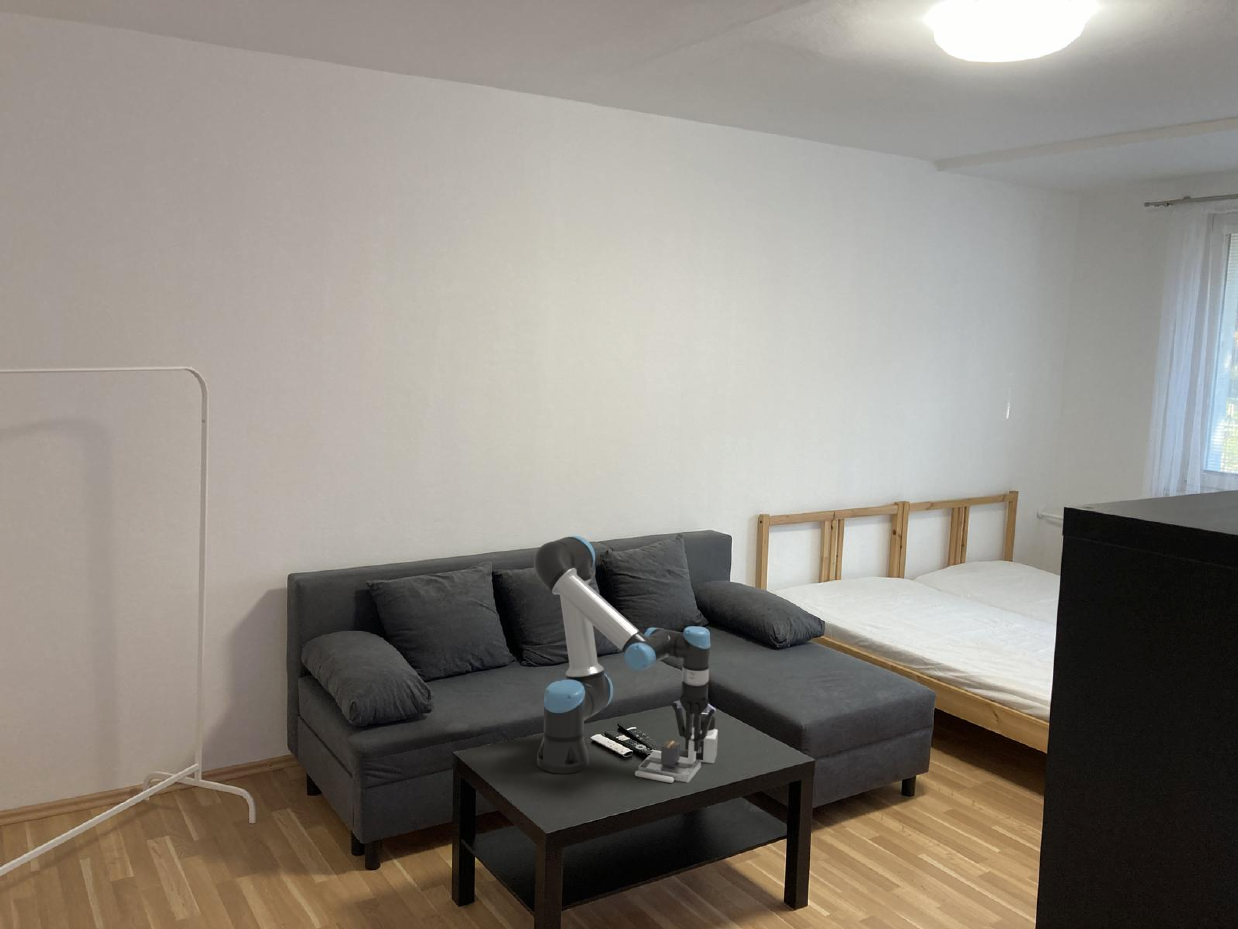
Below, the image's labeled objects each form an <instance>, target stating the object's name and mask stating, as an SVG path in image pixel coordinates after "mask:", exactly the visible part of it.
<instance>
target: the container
mask: <svg viewBox="0 0 1238 929" xmlns="http://www.w3.org/2000/svg"><path fill="white" fill-rule="evenodd" d="M707 714H708V713H707V712H706V713H705V712H702V715H701V733H702V729H703V726H704V723H705V719H706V716H707ZM694 724H695V718H694V716H693V718H692V736H691V737H693V738H694ZM718 733H719V730H718V729H716V717H715V715H713V716H712V719H711V722H710V726H709V729H708V733H707V736H706V737H705V739H704V740H700V746H699V750H698V751H697V752H696V759H697V760H701V763H708V764H715V761H716V758H717V754H718V736H719V735H718Z"/></svg>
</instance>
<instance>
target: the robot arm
mask: <svg viewBox="0 0 1238 929" xmlns="http://www.w3.org/2000/svg"><path fill="white" fill-rule="evenodd" d="M595 562H596V553H595V549H594V547H593V546H592V544H591V543H590V542H589V541H588V540H587V539H585V537H581V536H577V535H572V536H565V537H563V538H559V539H556V540H553V541H549V542H546V543H544V544H543V545H541V546H540V547H538V550H537V551H536V552H535V555H534V558H533V568H534V572H535V575H536V576H537V578H538V580H539V581H540V582H541V584H542V585H543V586H545V588H546V589H547V590H548V591H549V592H551V593H552V594H553V595H554V596H555V595H559V597H560V603H561V604H560V605H561V606H560V607H561V612H562V619H563V626H564V634H565V642H566V649H567V655H568V656H567V657H568V664H569V668H568V669H567V671H566V672H565V679H562V680H556V681H554V682H552V683H550V684H549V685H548V686H547V687H546V689H545V690H544V697H543V738H542V740H541V743H540V747H539V749H538V751H537V754H536V756H537V757H536V764H537V767H538V768H540V770H543V771H545V772H548V773H553V774H573V773H579V772H581V771H583V770H585V769H587V767H589V765H590V764H589V762H590V759H589V758H590V756H589V753H588V749H587V746H586V742H585V739H584V728H585V727H584V724H585V723H584V722H585V721H586V720H588V719H589V718H591V717H593V716H595V715H596V714H599V713H600V712H602V711H603V710H604V709H606V707H607V706H608V705H609V704H610V703H611V702H612V699H613V695H614V687H613V686H614V685H613V683H612V680H611V678H610V677H608V675H607V674H606V673H605V670H604V667H603V666H602V665H601V664H600V663H599V662H598V655H597V648H596V641H595V633H594V627H595V628H596V629H597V630H598V631H599V632H600V633H601V634H603V635H604V636H605V637H606V638H607V639H608V640H609V641H610V642H611V643H613V644H614V645H615V647H617V648H618V649H619V650H620V651H621V652H622V653H623V655H624V660H625V661H624V662H625V663H626V665H627V666H628V667H629V668H630V669H631V670H634V671H637V672H640V671H644V670H647V669H650V668H651V667H653V666H654V665H656V664H657V663H659V662H661V661H662V660H664V659H665V658H673V659H678V660H682V670H681V671H682V674H681V680H682V682H681V696H680V698H679V699H678V700H675V701H674V702H673V703H671V707H672V709H673V710H674V714H675V719H676V724H677V729H678V734H679V737H681V738H684V739H685V744H684V746H685V747H684V748H685V750H686V751H688V754H687V755H688V756H687V758H688V763H694V761H695V760H696V752H697V751H698V750H699V746H700V740H704V739H705V737H706V736H707V733H708V729H709V726H710V722H711V719H712V716H714V714H715V712H716V711H717V707H716V706H712V705H711V704H710V701H709V697H708V695H709V683H708V682H709V678H710V677H709V675H710V672H709V671H710V651H711V633H710V631H709V629H707V628H706V627H703V626H695V625H693V626H692V625H691V626H687V627H685V628H684V630H683V632H680V631H675V630H669V629H664V628H661V627H648V628H647V629H646V630H645V632H644V634H643V633H642V631H641V630H639V629H638V628H637V627H636V626H635V625H633V623H631V622H630V621H629V620H628V619H627V618H626V617H625V616H624V615H622V614H621V613H620V612H619V611H618V610H617V609H616V608H615V607H613V605H611V604H610V603H609V601H607V600H606V599H605V598H604V597H602V595H600V594H599V593H598V592H597V591H595V589H593V587H591V586H590V585H589V584H590V583H591V580H592V574H591V569H592V568H593V567H594V565H595ZM682 707H683V709H682ZM683 710H684V711H685V718H684V715H683ZM705 710H706V713H707V716H706V719H705V723H704V726H703V729H702V733H701V715H702V713H704V711H705ZM693 717H694V718H695V724H694V738H693V737H691V736H692V728H693ZM684 719H685V720H684Z"/></svg>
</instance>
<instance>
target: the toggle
mask: <svg viewBox="0 0 1238 929" xmlns="http://www.w3.org/2000/svg"><path fill="white" fill-rule="evenodd" d="M660 751H661V764H667V765H672V766H674V765H675V764H676V763H677V762H678V761H679V759H680V757H681V755H680V752H681V742H678V741H675V740H671V741H670V740H666V741H665V742H664V743H663V744H662V745H661V750H660Z"/></svg>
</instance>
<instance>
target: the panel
mask: <svg viewBox="0 0 1238 929" xmlns="http://www.w3.org/2000/svg"><path fill="white" fill-rule="evenodd" d="M701 766H702V762H701V760H697V759H696V760H695V761H694V763H688V757H685V756H680V759H679V761H678V762H677V763H676V764H675V765H674V766H672V765H667V764H661V753H658V752H652V753H651V754H650V755H648V756H647V757H646V758H645V759H644V760H643V761H642V763H640V764H639V766H638V771H643V772H648V773H653V774H658V775H664V776H669V777H673V779H674V781H677V782H683V783H690V781H691V780H693V777H694V776H696V773H697V772H698V771H699V770H700V768H701Z"/></svg>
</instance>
